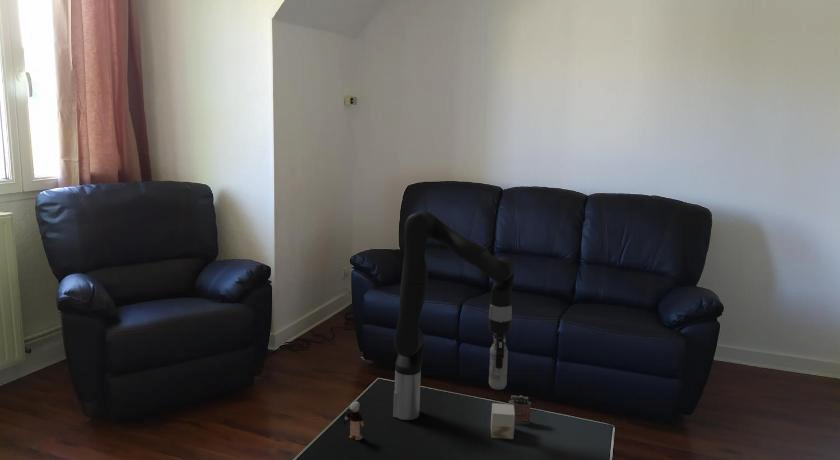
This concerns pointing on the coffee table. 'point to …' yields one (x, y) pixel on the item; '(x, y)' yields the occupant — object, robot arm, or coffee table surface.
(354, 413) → the grandmother figurine
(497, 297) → the robot arm
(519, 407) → the lighter
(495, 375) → the energy drink can
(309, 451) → the coffee table surface
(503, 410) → the cream block
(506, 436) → the birch block
